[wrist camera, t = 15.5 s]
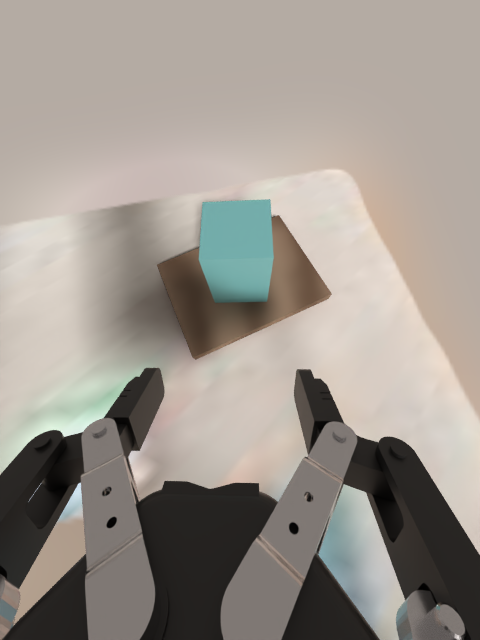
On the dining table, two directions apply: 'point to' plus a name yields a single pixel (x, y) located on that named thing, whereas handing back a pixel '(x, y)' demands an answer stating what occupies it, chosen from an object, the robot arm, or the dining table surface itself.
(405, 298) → the dining table surface
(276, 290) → the board
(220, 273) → the teal foam cube
